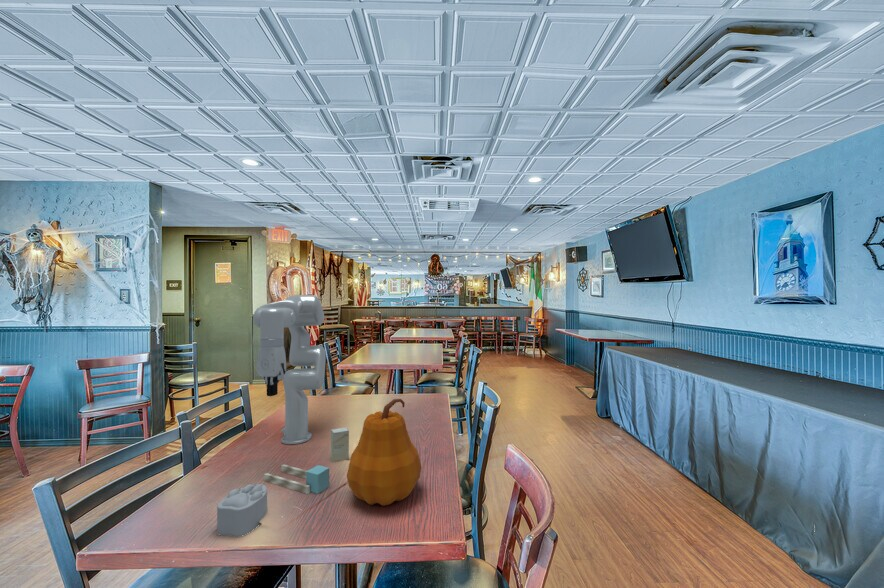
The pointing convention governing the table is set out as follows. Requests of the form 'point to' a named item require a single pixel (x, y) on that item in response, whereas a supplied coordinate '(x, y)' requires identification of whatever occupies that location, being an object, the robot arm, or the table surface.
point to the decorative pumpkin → (384, 459)
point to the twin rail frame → (286, 482)
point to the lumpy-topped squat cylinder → (242, 510)
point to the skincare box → (339, 444)
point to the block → (317, 478)
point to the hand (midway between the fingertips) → (272, 395)
